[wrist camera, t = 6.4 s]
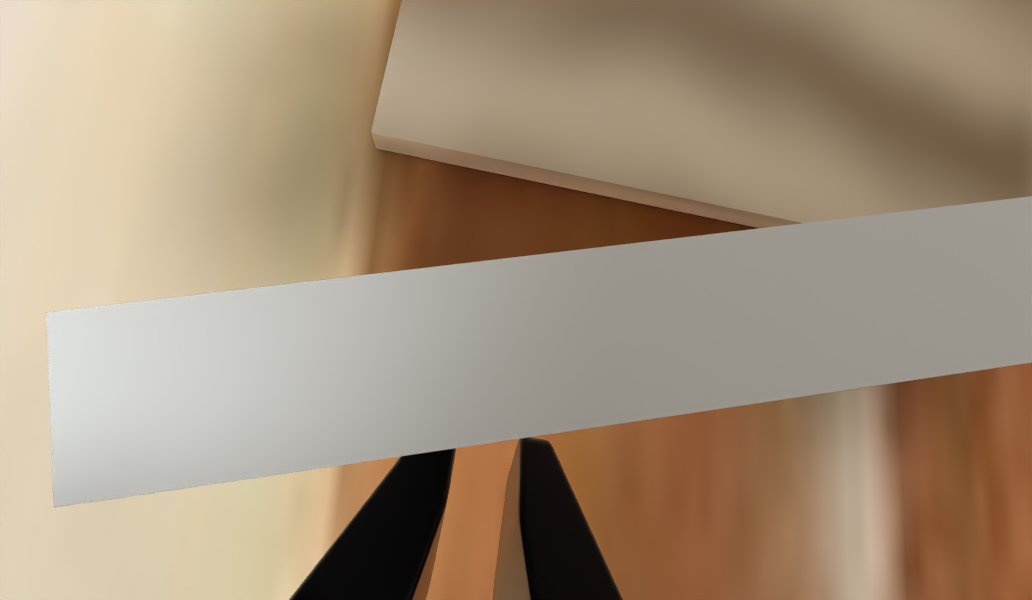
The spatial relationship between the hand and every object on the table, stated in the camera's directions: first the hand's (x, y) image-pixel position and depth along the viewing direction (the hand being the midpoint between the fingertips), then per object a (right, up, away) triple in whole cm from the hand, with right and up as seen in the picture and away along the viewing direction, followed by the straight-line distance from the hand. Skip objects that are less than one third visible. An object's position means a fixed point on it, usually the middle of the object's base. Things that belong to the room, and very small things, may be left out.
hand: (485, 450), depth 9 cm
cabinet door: (+5, +1, +7) cm, 8 cm away
